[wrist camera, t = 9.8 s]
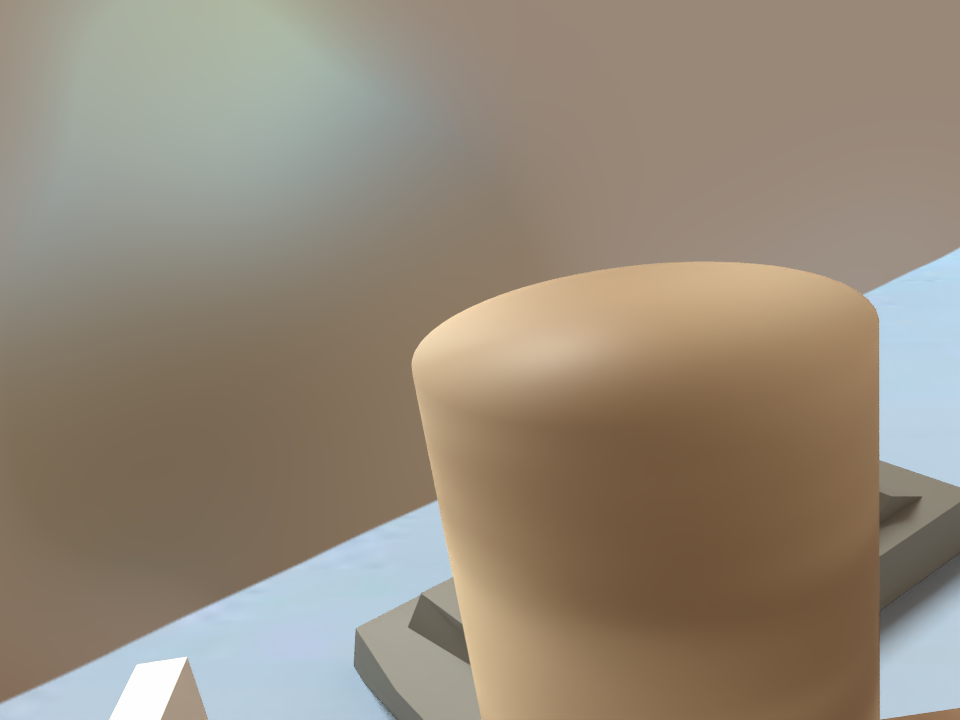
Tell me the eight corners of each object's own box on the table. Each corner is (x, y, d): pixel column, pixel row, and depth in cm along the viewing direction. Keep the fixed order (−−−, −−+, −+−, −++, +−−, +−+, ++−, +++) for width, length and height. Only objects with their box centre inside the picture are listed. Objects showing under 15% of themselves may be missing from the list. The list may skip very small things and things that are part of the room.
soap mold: (994, 547, 31) (999, 457, 29) (529, 891, 21) (508, 780, 20) (757, 456, 39) (753, 383, 38) (349, 674, 30) (326, 587, 28)
